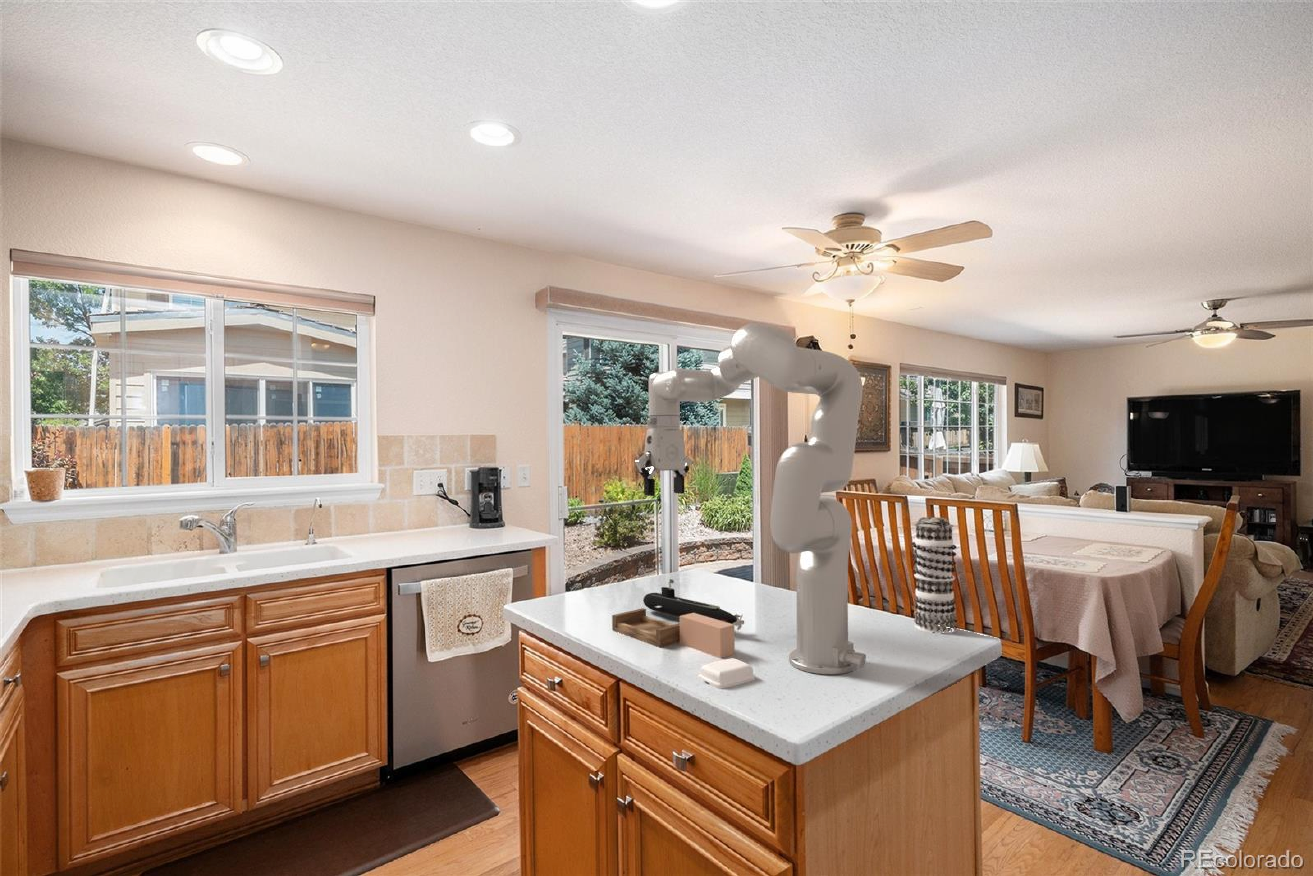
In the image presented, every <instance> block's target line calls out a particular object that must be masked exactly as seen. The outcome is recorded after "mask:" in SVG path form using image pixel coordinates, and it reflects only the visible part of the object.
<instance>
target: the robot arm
mask: <svg viewBox="0 0 1313 876" xmlns="http://www.w3.org/2000/svg"><path fill="white" fill-rule="evenodd" d="M756 378H757V379H758V378H760V379H762V380H763V381H765V382H766V383H768V384H771V386H773V387H775V388H776V389H779V390H781V391H784V392H788V393H793V394H794V393H795V394H804V395H805V394H806V395H815V396H816V395H817V396H818V397H819V401H818V403H817V404H816V407H815V408H814V411H813V412H812V416H811V421H810V430H809V435H808V441H805V442H803V441H802V442H796V443H793V444H791V446H788V447H787V448H786V449H785V450H784V451H783V452H782V454H781V456H780V457H779V459H778V461H777V465H776V469H775V474H774V475H775V477H774V482H773V490H772V491H773V492H772V501H771V509H770V517H769V518H770V519H769V521H770V523H769V524H770V525H769V526H770V527H769V528H770V532H771V533H770V534H771V537H772V540H773V541H774V543H775V544H776V545H777V547H778V548H779V549H780V550H782V551H783V552H786V553H790V554H798V558H797V565H796V580H795V581H796V649H794V650H792V651H791V652H790V653H789V654H788V663H789V664H790V665H791V666H792V667H795V669H798V670H801V671H804V672H807V673H812V674H818V675H827V676H828V675H830V676H831V675H842V674H843V675H844V674H848V673H851V672H852V671H855V670H856V669H857V667H858V668H864V667H865V665H866V663H867V662H866V659H867V655H866V653H864V652H859V651H855V649H854V642H852V641H850V640H849V622H848V621H849V606H848V605H849V602H848V601H849V599H848V598H849V597H848V596H849V595H848V594H849V593H848V591H849V589H848V587H849V586H848V585H849V573H848V572H849V557H850V555H849V554H850V549H851V548H850V547H851V541H852V536H853V521H852V520H853V519H852V517H851V515H850V514H851V513H850V511H849V510H848V508H847V507H846V506H845V505H844V504H843V503H842V502H840V501H838V500H836V499H833V498H829V497H821V494H823V493H824V494H826V493H832V492H838V491H839V490H842V489H844V488H846V486H848V484H849V483H850V480H851V477H852V474H853V465H854V457H855V450H856V444H857V443H856V441H857V435H858V422H859V416H860V410H861V408H862V407H861V406H862V405H861V404H862V400H863V391H864V390H863V388H864V387H863V381H862V380H863V379H862V378H861V375H860V373H859V371H858V369H857V368H856V367H855V366H854V364H853V363H851V362H850V361H849V360H848V359H846V358H845V357H843V356H842V355H838V354H836V353H834V352H829V351H826V350H821V349H820V350H819V349H812V348H806V347H799V346H797V342H796V340H795V338H794V337H793V336H792V334H791V333H790V332H788V331H787V330H786V329H783V328H781V327H776V326H771V325H766V324H760V323H756V322H755V323H748V324H746V325H743V326H741V327H740V328H739V329H738V330H736V332H735V333H734V335H733V336H732V339H731V341H730V345H728V346H727V347H724V348H723V349H722V350H721V351H720V352H719V354H718V358H717V367H715V368H712V369H708V370H700V369H690V368H689V369H688V368H673V369H670V370H667V371H661V372H659V371H658V372H654V373H651V374H650V375H649V377H648V418H647V419H646V420H645V421H646V424H647V425H648V429H646V434H645V435H646V436H645V441H644V442H645V443H644V454H643V455H641V456H640V457H639V458H638V459H636V460H635V465H636V467H637V469H638V470H637V471H638V473H639V475H640V476H641V478H642V479H643V494H644V496H647V497H654V496H655V495H656V487H655V486H656V480H655V478H654V476H655V474H656V473H657V471H660V472H661V471H662V472H663V471H664V472H665V471H671V472H673V474H674V475H675V476H673V493H674V494H679V495H680V494H683V495H684V494H685V478H686V477H687V474H688V472H689V471H690V466H691V463H692V458H690V457H689V456H687V455H686V443H685V437H684V433H683V429H681V427H680V426H681V423H680V421H681V418H680V415H681V410H680V409H681V408H680V403H681V402H691V403H693V402H695V403H708V402H713V401H716V400H719V399H722V398H724V397H727V396H730V395H732V394H733V393H734V392H736V391H737V390H738V389H739V388H740V386H741V384H744V383H746V382H749V381H752V380H754V379H756Z"/></svg>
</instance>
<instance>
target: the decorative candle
mask: <svg viewBox="0 0 1313 876" xmlns="http://www.w3.org/2000/svg"><path fill="white" fill-rule="evenodd" d="M913 525H914V526H915V537H914V541H913V542H911V545H912V547H913V548H914V549H913V551H912V552H911V553H912V555H913V556H914V557H913V558H912V561H913V563H914V567H913V568H912V569H913V570H914V573H913V576H914V578H915V579H916V582H915V583H916V588H915V596H914V597H913V598H914V601H915V602H916V603H914V605H913V606H914V608H915V610H914V612H913V615H914V616H915V618H914V620H913V621H914V623H915V625H914V628H917V629H916V630H919V631H921V632H924V633H929V632H935V633H934V634H936V633H943V632H944V633H948V634H952V629H951V628H954V629H955V626H956V625H957V624H956V622H955V620H956V619H957V616H956V615H955V613H954V612H955V611H956V608H955V606H954V605H955V604H956V600H955V599H954V598H955V595H954V592H955V591H953V590H954V589H953V588H954V587H953V586H954V584H953V582H954V580H956V577H955V576H954V575H953V573H955V572H956V570H957V569H956V568H954V566H955V565H956V564H957V562H956V561H955V560H954V559H953V558H955V557H956V556H957V553H956V551H954V550H956V549H957V548H958V547H957V545H955V544H954V539H953V527H954V525H952V524H951V522H950V521H949V520H948V519H947V518H944V517H935V516H934V517H933V516H931V517H930V516H929V517H928V516H927V517H925V516H924V517H921V518H919V519H918V521H917V523H914V524H913ZM938 625H940V626H938ZM946 627H950V628H946ZM949 631H951V632H949ZM955 632H956V630H955V631H953V633H955Z"/></svg>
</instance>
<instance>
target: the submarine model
mask: <svg viewBox="0 0 1313 876" xmlns="http://www.w3.org/2000/svg"><path fill="white" fill-rule="evenodd" d="M671 584H675V582H674V579H671V578H669V581H668V587H667V586H664V587H663V586H662V587H661V592H649V593H647V594H645V595H644V597H643V599H642V601H643V605H644V606H646V608H647V609H649V610H650V611H651V610H652V611H654V612H659V613H663V614H667V615H671V616H674V617H679V618H680V616H682V615H686V614H690V613H696V614H699V615H703V616H706V617H710V618H713V619H717V620H720V621H723V622H727V623H730V624H734V627H737V628H736V630H737V631H739V630H741V628H742V625H744V624H745V619H744V620H743V619H742V618H743V615H744V614H743V613H742V614H741V615H739V614H737V613H736V614H732V613H730V612H728V611H726V610H724V609H721V608H720V606H719V605H714V604H710V603H706V602H702V601H696V600H693V599H687V598H682V597H677V596H675V595H676V593H675V589H674V588H672V585H671Z"/></svg>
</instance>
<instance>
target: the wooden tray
mask: <svg viewBox="0 0 1313 876" xmlns="http://www.w3.org/2000/svg"><path fill="white" fill-rule="evenodd" d="M611 618H612V621H611V622H612V623H611V625H612V628H611V629H612V630H613V632H615V633H618V632H619V633H618V634H620V633H621V634H622V635H623V634H624V636H627V637H629V636H630V637H629V638H632V639H634V638H635V640H637V641H640V642H643V641H644V643H646V644H649V645H652V646H655V647H657V646H658V648H663V647H666V646H670V645H673V644H676V643H680V622H678V623H674V624H673V623H669V622H666V621H663V620H660V619H657V618H654V617H649V616H647V609H646V608H643V607H642V608H638V609H634V610H629V611H626V612H620V613H616V614H613V615H612V616H611Z"/></svg>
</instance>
